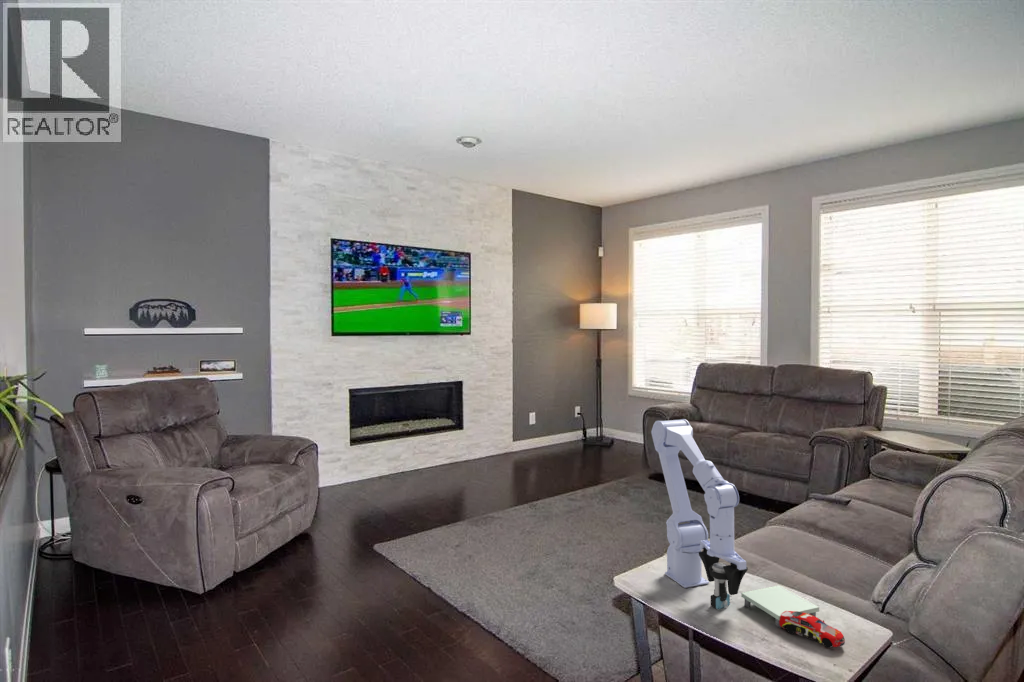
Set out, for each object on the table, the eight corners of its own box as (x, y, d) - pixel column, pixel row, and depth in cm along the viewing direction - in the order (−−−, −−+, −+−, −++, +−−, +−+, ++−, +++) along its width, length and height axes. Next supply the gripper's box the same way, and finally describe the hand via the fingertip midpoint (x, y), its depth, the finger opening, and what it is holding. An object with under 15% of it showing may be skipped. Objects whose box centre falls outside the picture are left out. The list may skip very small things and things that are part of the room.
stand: (741, 604, 135) (741, 592, 135) (779, 596, 139) (779, 585, 139) (779, 629, 124) (779, 616, 124) (819, 619, 128) (819, 607, 128)
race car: (849, 644, 117) (848, 625, 117) (838, 653, 114) (838, 634, 114) (787, 620, 127) (787, 603, 127) (776, 627, 124) (775, 610, 124)
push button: (722, 597, 139) (721, 558, 139) (740, 605, 135) (739, 565, 135) (704, 604, 136) (704, 564, 136) (723, 613, 131) (722, 572, 131)
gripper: (690, 525, 141) (690, 577, 141) (729, 545, 127) (729, 603, 127) (712, 522, 143) (713, 573, 143) (753, 541, 129) (753, 598, 129)
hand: (722, 587), depth 135 cm, fingers open, 7 cm apart
